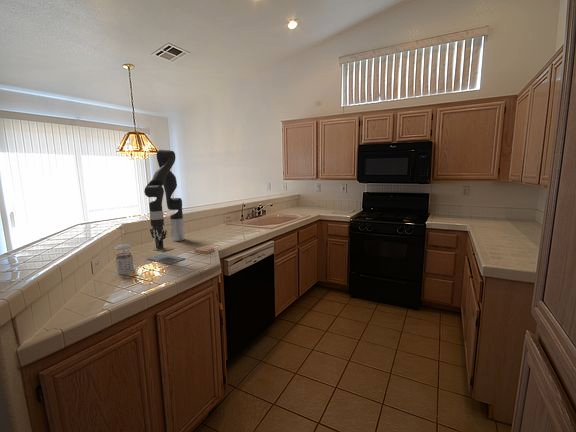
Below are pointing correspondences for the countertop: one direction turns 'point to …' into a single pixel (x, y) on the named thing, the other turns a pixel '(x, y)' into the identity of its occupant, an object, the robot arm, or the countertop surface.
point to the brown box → (161, 247)
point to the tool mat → (166, 259)
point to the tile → (204, 250)
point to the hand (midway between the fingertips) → (159, 245)
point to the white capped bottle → (124, 259)
